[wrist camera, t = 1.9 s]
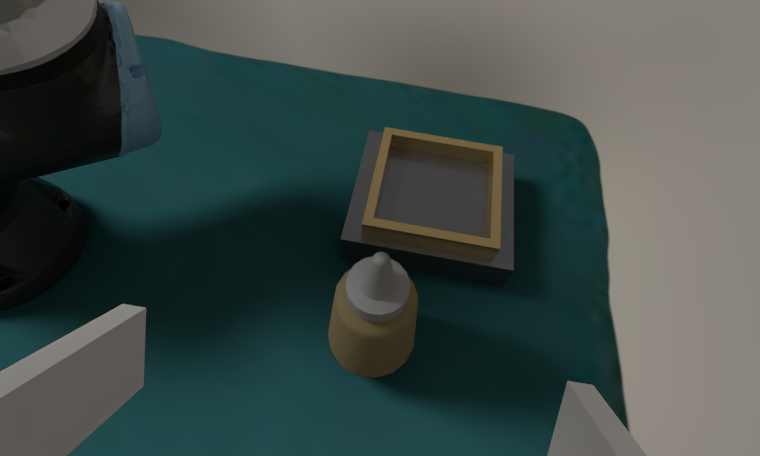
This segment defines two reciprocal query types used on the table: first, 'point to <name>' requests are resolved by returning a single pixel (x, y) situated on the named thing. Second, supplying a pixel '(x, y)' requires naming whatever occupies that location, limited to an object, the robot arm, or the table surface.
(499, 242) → the square gold-rimmed tray
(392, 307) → the squeeze bottle
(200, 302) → the table surface
